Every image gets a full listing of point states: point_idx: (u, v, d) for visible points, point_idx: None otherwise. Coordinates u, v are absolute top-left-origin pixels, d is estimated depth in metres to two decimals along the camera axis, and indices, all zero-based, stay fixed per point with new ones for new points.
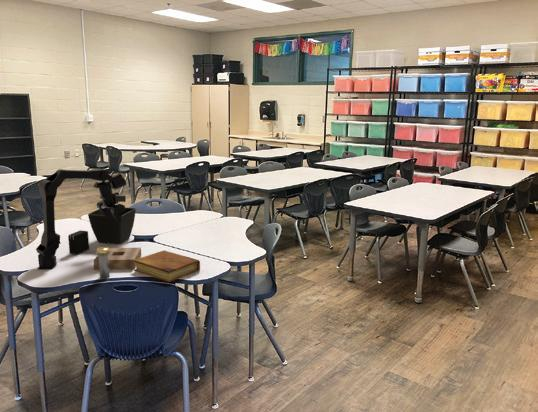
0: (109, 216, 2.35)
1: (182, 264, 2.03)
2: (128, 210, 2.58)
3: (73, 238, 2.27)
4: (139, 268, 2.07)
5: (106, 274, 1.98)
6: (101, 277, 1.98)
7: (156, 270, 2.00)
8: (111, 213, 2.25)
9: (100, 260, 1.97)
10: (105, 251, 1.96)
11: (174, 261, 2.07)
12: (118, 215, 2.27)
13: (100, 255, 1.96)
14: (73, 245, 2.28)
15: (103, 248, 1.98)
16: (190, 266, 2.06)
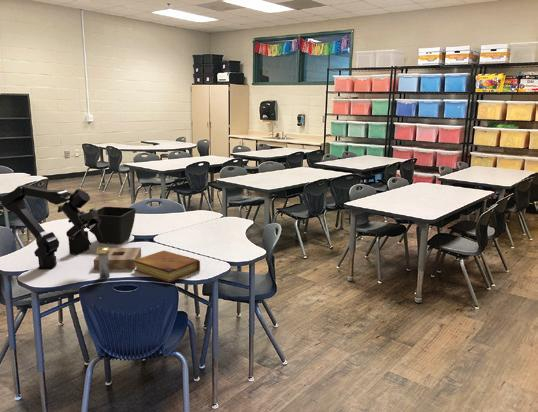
0: (98, 235, 2.08)
1: (182, 264, 2.03)
2: (128, 210, 2.58)
3: None
4: (139, 268, 2.07)
5: (106, 274, 1.98)
6: (101, 277, 1.98)
7: (156, 270, 2.00)
8: None
9: (100, 260, 1.97)
10: (105, 251, 1.96)
11: (174, 261, 2.07)
12: (81, 237, 1.98)
13: (100, 255, 1.96)
14: (73, 245, 2.28)
15: (103, 248, 1.98)
16: (190, 266, 2.07)
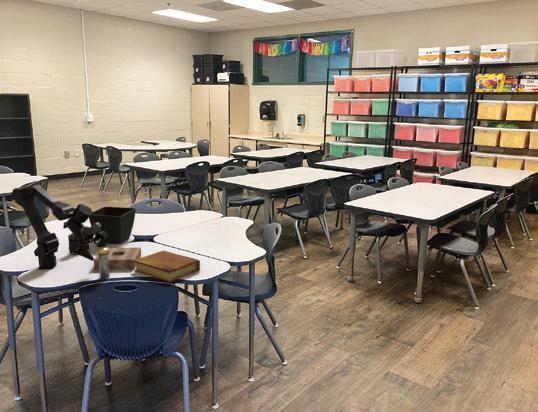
0: None
1: (182, 264, 2.03)
2: (128, 210, 2.58)
3: (73, 238, 2.27)
4: (139, 269, 2.07)
5: (106, 274, 1.98)
6: (101, 277, 1.98)
7: (156, 270, 2.00)
8: None
9: (100, 260, 1.97)
10: (105, 251, 1.96)
11: (174, 261, 2.07)
12: (84, 252, 1.94)
13: (100, 255, 1.96)
14: None
15: (103, 248, 1.98)
16: (190, 266, 2.07)
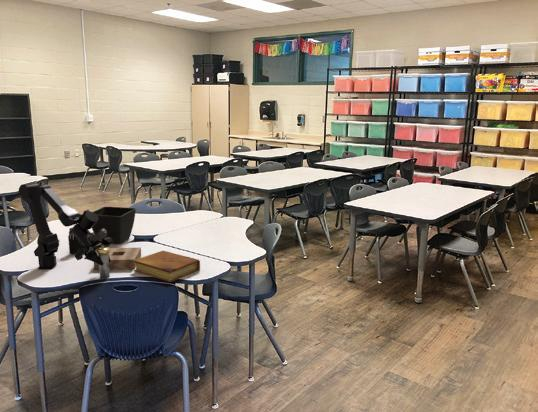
0: None
1: (182, 264, 2.03)
2: (128, 210, 2.58)
3: (73, 238, 2.27)
4: (139, 269, 2.07)
5: (106, 274, 1.98)
6: (101, 277, 1.98)
7: (157, 270, 2.00)
8: None
9: None
10: (105, 251, 1.96)
11: (174, 261, 2.07)
12: (94, 257, 1.96)
13: (100, 255, 1.96)
14: (73, 245, 2.28)
15: (103, 248, 1.98)
16: (190, 266, 2.07)
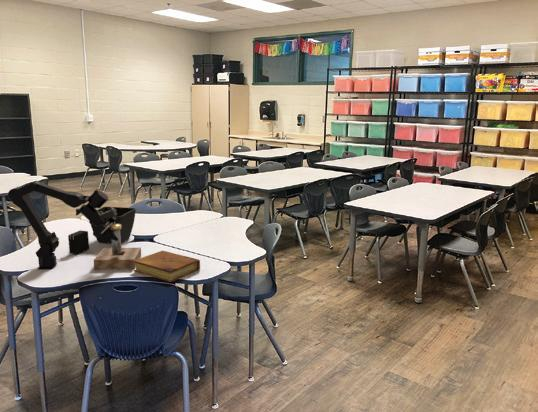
0: None
1: (183, 264, 2.03)
2: (128, 210, 2.58)
3: (73, 238, 2.27)
4: (139, 269, 2.07)
5: (119, 249, 2.11)
6: (115, 252, 2.10)
7: (157, 270, 2.00)
8: (101, 234, 2.07)
9: None
10: (119, 227, 2.08)
11: (174, 261, 2.07)
12: (109, 234, 2.06)
13: (114, 231, 2.08)
14: (73, 245, 2.28)
15: (114, 224, 2.10)
16: (190, 266, 2.07)
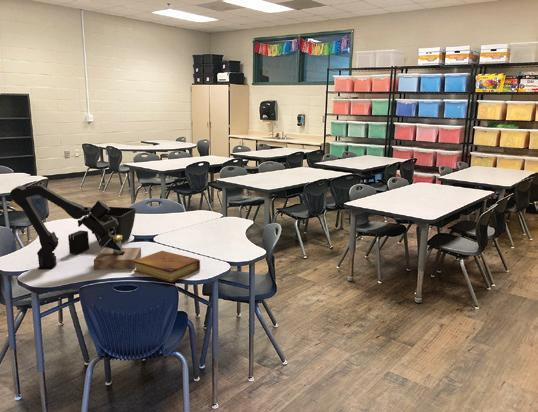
0: None
1: (183, 264, 2.03)
2: (128, 210, 2.58)
3: (73, 238, 2.27)
4: (138, 269, 2.07)
5: None
6: None
7: (157, 270, 2.00)
8: None
9: None
10: (121, 237, 2.15)
11: (174, 261, 2.07)
12: (112, 244, 2.11)
13: (116, 242, 2.15)
14: (73, 245, 2.28)
15: (115, 236, 2.16)
16: (190, 266, 2.07)
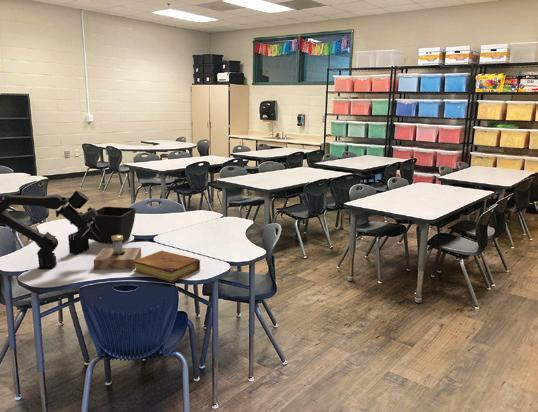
0: (97, 232, 2.18)
1: (183, 264, 2.03)
2: (128, 210, 2.58)
3: (73, 238, 2.27)
4: (138, 269, 2.06)
5: None
6: None
7: (157, 270, 2.00)
8: (82, 236, 2.07)
9: (117, 247, 2.15)
10: (122, 238, 2.15)
11: (174, 261, 2.07)
12: (90, 235, 2.07)
13: (117, 242, 2.15)
14: (73, 245, 2.28)
15: (116, 236, 2.16)
16: (191, 265, 2.07)
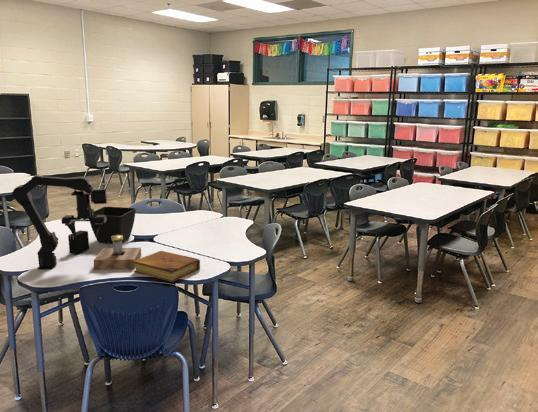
0: (75, 233, 2.12)
1: (183, 263, 2.04)
2: (128, 210, 2.58)
3: (73, 238, 2.27)
4: (138, 269, 2.06)
5: None
6: None
7: (158, 270, 2.00)
8: (95, 224, 2.10)
9: (117, 247, 2.15)
10: (121, 238, 2.15)
11: (174, 261, 2.07)
12: (97, 227, 2.13)
13: (117, 242, 2.15)
14: (73, 245, 2.28)
15: (116, 236, 2.16)
16: (191, 265, 2.07)
